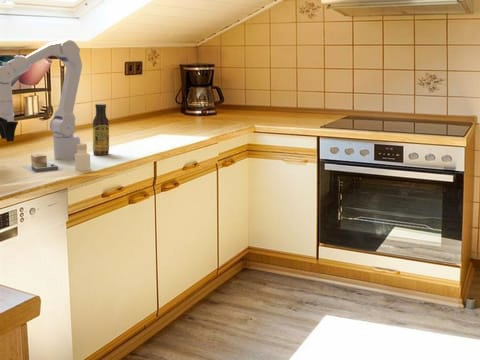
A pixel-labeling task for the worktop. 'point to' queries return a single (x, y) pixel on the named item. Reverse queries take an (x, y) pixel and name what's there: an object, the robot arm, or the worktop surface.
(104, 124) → the sauce bottle
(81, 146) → the pepper shaker
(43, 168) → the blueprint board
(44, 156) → the maple block
